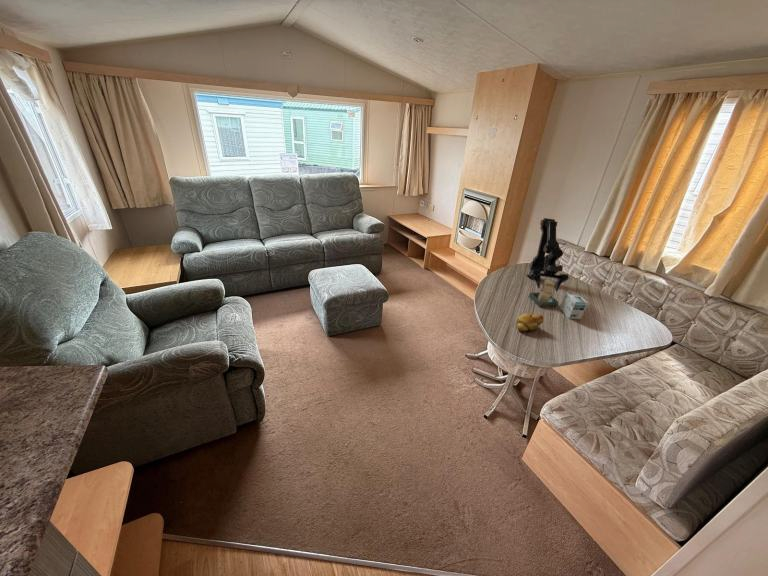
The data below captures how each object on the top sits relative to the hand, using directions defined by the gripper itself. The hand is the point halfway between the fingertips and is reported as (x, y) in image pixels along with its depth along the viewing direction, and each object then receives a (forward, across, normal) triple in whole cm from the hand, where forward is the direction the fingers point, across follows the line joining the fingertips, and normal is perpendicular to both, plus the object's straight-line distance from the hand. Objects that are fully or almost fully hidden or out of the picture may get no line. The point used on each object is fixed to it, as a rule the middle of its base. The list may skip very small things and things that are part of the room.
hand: (547, 289), depth 173 cm
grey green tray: (+5, 0, +7) cm, 9 cm away
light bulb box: (+12, +12, +1) cm, 17 cm away
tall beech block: (+5, 0, +7) cm, 8 cm away
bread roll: (+27, -14, -15) cm, 34 cm away
